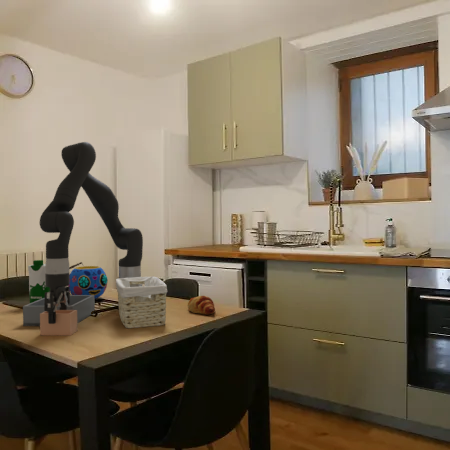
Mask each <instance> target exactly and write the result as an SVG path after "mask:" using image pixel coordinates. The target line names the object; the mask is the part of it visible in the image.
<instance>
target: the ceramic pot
mask: <svg viewBox="0 0 450 450" xmlns="http://www.w3.org/2000/svg"><path fill="white" fill-rule="evenodd" d="M69 275H70V284H69V285H68V286H67V287H70V295H94V300H95V299H98V298H100V297H101V296H103V294H104V293H105V292H106V289H107V287H108V276H107V274H106V272H105V270H104V269H103V268H102V267H101V266H98V265H97V266H96V265H93V266H92V265H88V266H87V265H86V266H84V265H83V266H76V267H74V268H72V270H71V271H70V272H69Z"/></svg>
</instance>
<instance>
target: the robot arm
mask: <svg viewBox="0 0 450 450" xmlns="http://www.w3.org/2000/svg"><path fill="white" fill-rule="evenodd" d="M60 152H61V155H60V156H61V159H62V161H63V163H64V165H65V167H66V168H67V170H68V171H69V173H68V174H67V175H66V176H65V178H63V179H62V181H61V182H60V183H59V185H58V186H57V189H56V191H55V194H54V198H53V199H52V201H50V203H49V204H48V205H47V207H46V208H45V209H44V210H43V212H42V213H41V215H40V218H39V227H40V229H41V231H42V232H44V233H47V234H48V233H49V234H51V233H52V234H53V233H55V234H59V235H58V237H57V238H56V239H51V240H48V241H47V242H46V243H45V263H44V264H45V285H46V287H49V288H50V292H45V301H44V311H47V312H48V323H49V324H55V323H56V309H57V306H59V305H60V306H61V307H60V310H67V306H68V304H70V295H71V293H70V287H68V285H69V284H70V269H69V267H70V260H69V244H70V240H71V236H72V232H73V229H74V225H75V221H74V216H73V214H72V213H71V211H72V210H73V209H74V207H75V204H76V201H77V198H78V196H79V192H80V190H81V189H82V190H83V191H84V193H85V194H86V195H87V197H88V199H89V201H90V202H91V205H93V207H94V209H95V211H96V212H97V214H98V215H99V216H100V219H101V220H102V221H103V224H104V225H105V227H106V229H107V230H108V232H109V235H110V237H111V239H112V241H113V244H115V246H116V247H117V248H118V249H119V250H123V251H126V255H125V256H124V257H122V258H120V259H119V260H118V278H133V277H142V271H141V270H142V269H141V268H142V267H141V266H142V259H143V250H144V249H143V248H144V247H143V244H144V238H143V233H142V231H141V230H140V229H138V228H134V227H133V228H132V227H131V228H128V227H127V228H126V227H125V226H124V225H123V224H122V223H121V220H120V217H119V208H120V207H119V205H120V204H119V201H118V199H117V197H116V195H115V194H114V192H113V190H112V189H111V188H110V187H109V186H108V185H107V184H106V183H104V182H103V181H101V180H99V179H97V178H96V177H95V176H93V175H92V174H91V173H90V171H91V170H92V168H93V166H94V165H95V163H96V158H97V153H96V150H95V147H94V146H93V145H92V144H91V143H90V142H88V141H82V142H77V143H74V144H70V145H67V146H66V145H65V146H64V147H63V148H62V150H61V151H60ZM141 286H143V284H134V285H133V284H132V285H130V287H141ZM53 306H54V308H53Z"/></svg>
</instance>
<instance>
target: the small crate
mask: <svg viewBox="0 0 450 450" xmlns="http://www.w3.org/2000/svg"><path fill="white" fill-rule="evenodd" d="M39 327H40V328H39V329H40V330H39V331H40V333H39V334H40V336H72V335H73V334H74V333H76V332H77V331H78V323H77V310H56V323H55V324H49V323H48V312H47V311H45V312H43V313H41V314H40V326H39Z"/></svg>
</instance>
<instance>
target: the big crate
mask: <svg viewBox="0 0 450 450" xmlns="http://www.w3.org/2000/svg"><path fill="white" fill-rule="evenodd" d="M44 301H45V298H42V299H40V300H37V301H35V302H32V303H30V302H29V303H28V304H25V305H23V306H22V327H40V314H41V313H43V312H45V311H44ZM95 305H96V304H95V299H94V295H72V294H70V304H68V306H67V310H77V324H79V323H80V322H82V321H83V320H85V319H87V318H89V317H90V316H91V312H92V311H94V310H95V307H96V306H95ZM60 307H61V306H60V305H59V306H57V309H56V310H60ZM53 308H54V306H53ZM95 311H96V310H95Z"/></svg>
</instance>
